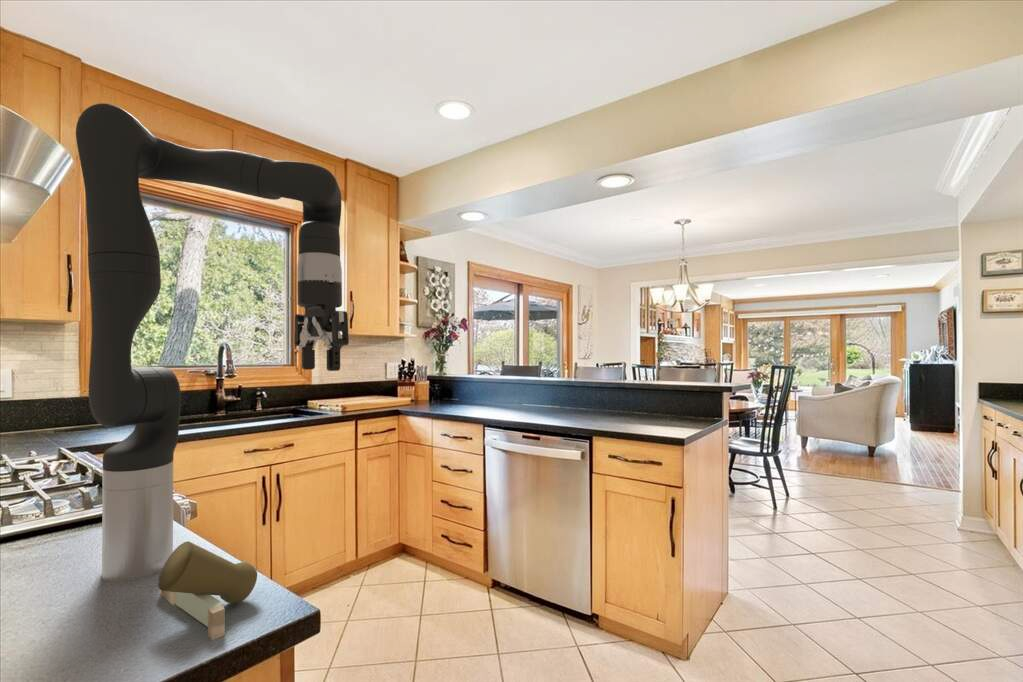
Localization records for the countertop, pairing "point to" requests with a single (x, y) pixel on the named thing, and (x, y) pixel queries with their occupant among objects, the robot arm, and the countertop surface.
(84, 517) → the countertop surface
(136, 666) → the countertop surface
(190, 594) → the gate door
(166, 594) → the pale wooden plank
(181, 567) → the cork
